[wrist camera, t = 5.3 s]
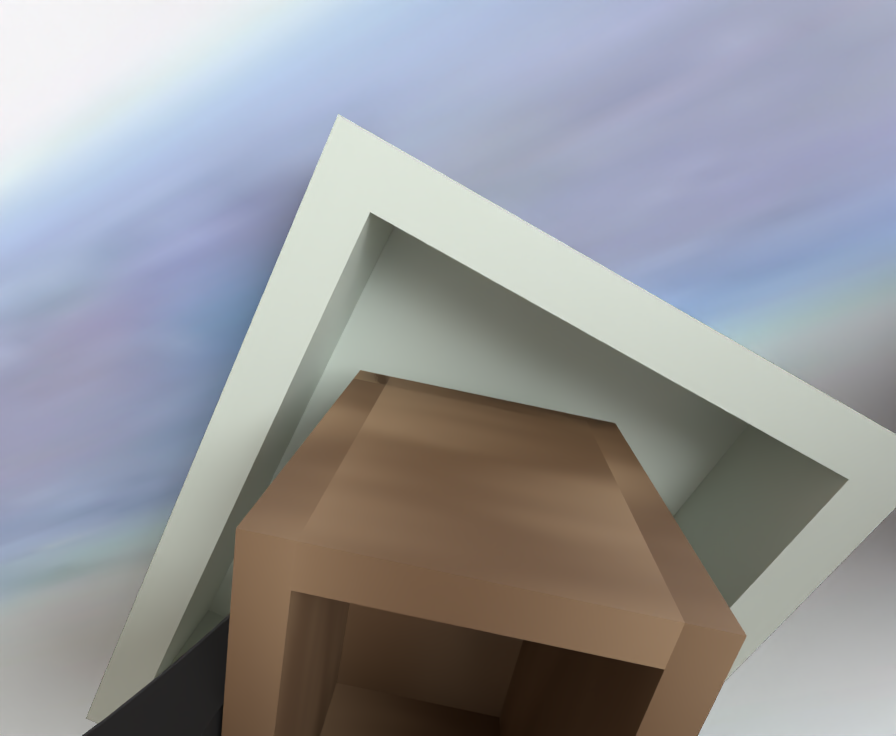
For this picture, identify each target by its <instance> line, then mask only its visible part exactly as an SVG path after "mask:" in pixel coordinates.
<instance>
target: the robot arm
mask: <svg viewBox="0 0 896 736" xmlns="http://www.w3.org/2000/svg"><path fill="white" fill-rule="evenodd" d="M229 620H230V614H229V615H227V616H226V617H225V618H224V619H223V620H222V621H221V622H220V623H219V624H218V625H217V626H216V627H214V628H213V629H212V630H211V631H210V632H209V633H208V634H206V635H205V636H204V637H203V638H202V639H201V640H200V641H198V642H197V643H196V644H195V645H194V646H193V647H192V648H190V649H189V650H188V651H187V652H186V653H185V654H183V655H182V656H181V657H180V658H179V659H178V660H177V661H175V662H174V663H173V664H172V665H171V666H170V667H168V668H167V669H166V670H165V671H164V672H162V673H161V674H160V675H159V676H157V677H156V678H155V679H154V680H152V681H151V682H150V683H149V684H147V685H146V686H145V687H144V688H142V689H141V690H140V691H139V692H137V693H136V694H135V695H134V696H132V697H131V698H130V699H129V700H127V701H126V702H125V703H124V704H122V705H121V706H120V707H119V708H117V709H116V710H115V711H114V712H112V713H111V714H110V715H109V716H107V717H106V718H105V719H103V720H102V721H101V722H99V723H98V724H97V725H96V726H94V727H93V728H92V729H90V730H89V731H88V732H86V733H85V734H84V735H82V736H221V734H222V720H223V706H224V691H225V677H226V663H227V649H228V634H229Z"/></svg>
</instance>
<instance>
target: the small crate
mask: <svg viewBox="0 0 896 736" xmlns="http://www.w3.org/2000/svg"><path fill="white" fill-rule="evenodd" d="M746 637H747V635H746V634H745V632H744V630H743V629H742V627H741V626H740V624H739V622H738V621H737V619H736V617H735V616H734V614H733V613H732V611H731V609H730V608H729V606H728V605H727V603H726V601H725V600H724V598H723V596H722V595H721V593H720V592H719V590H718V588H717V587H716V585H715V584H714V582H713V580H712V579H711V577H710V575H709V574H708V572H707V571H706V569H705V567H704V566H703V564H702V563H701V561H700V559H699V558H698V556H697V554H696V553H695V551H694V550H693V548H692V546H691V545H690V543H689V542H688V540H687V538H686V537H685V535H684V533H683V532H682V530H681V529H680V527H679V525H678V524H677V522H676V520H675V519H674V517H673V516H672V514H671V512H670V511H669V509H668V508H667V506H666V504H665V503H664V501H663V499H662V498H661V496H660V495H659V493H658V491H657V490H656V488H655V487H654V485H653V483H652V482H651V480H650V478H649V477H648V475H647V474H646V472H645V470H644V469H643V467H642V466H641V464H640V462H639V461H638V459H637V457H636V456H635V454H634V453H633V451H632V449H631V448H630V446H629V445H628V443H627V441H626V440H625V438H624V436H623V435H622V433H621V432H620V430H619V428H618V427H617V425H616V424H615V423H613V422H608V421H603V420H598V419H594V418H589V417H584V416H579V415H574V414H569V413H565V412H560V411H555V410H550V409H545V408H541V407H536V406H531V405H526V404H521V403H516V402H512V401H507V400H502V399H497V398H492V397H488V396H483V395H478V394H473V393H468V392H464V391H459V390H454V389H449V388H444V387H439V386H435V385H430V384H425V383H420V382H415V381H411V380H406V379H401V378H396V377H391V376H386V375H382V374H377V373H372V372H367V371H362V370H360V371H359V372H358V373H357V375H356V376H355V377H354V379H353V380H352V381H351V382H350V384H349V385H348V386H347V387H346V389H345V390H344V391H343V393H342V394H341V395H340V396H339V398H338V399H337V400H336V401H335V403H334V404H333V405H332V407H331V408H330V409H329V410H328V412H327V413H326V414H325V415H324V417H323V418H322V419H321V421H320V422H319V423H318V424H317V426H316V427H315V428H314V429H313V431H312V432H311V433H310V435H309V436H308V437H307V438H306V440H305V441H304V442H303V443H302V445H301V446H300V447H299V449H298V450H297V451H296V452H295V454H294V455H293V456H292V457H291V459H290V460H289V461H288V463H287V464H286V465H285V466H284V468H283V469H282V470H281V471H280V473H279V474H278V475H277V477H276V478H275V479H274V480H273V482H272V483H271V484H270V485H269V487H268V488H267V489H266V491H265V492H264V493H263V494H262V496H261V497H260V498H259V499H258V501H257V502H256V503H255V505H254V506H253V507H252V508H251V510H250V511H249V512H248V513H247V515H246V516H245V517H244V519H243V520H242V521H241V522H240V524H239V525H238V526H237V527H236V534H235V548H234V563H233V577H232V591H231V606H230V620H229V634H228V649H227V663H226V677H225V691H224V706H223V720H222V734H221V736H698V734H699V732H700V730H701V728H702V726H703V724H704V722H705V720H706V718H707V716H708V714H709V712H710V710H711V708H712V706H713V704H714V702H715V700H716V698H717V696H718V693H719V691H720V689H721V687H722V685H723V683H724V681H725V679H726V677H727V675H728V673H729V671H730V669H731V667H732V665H733V663H734V661H735V659H736V657H737V655H738V653H739V651H740V649H741V647H742V645H743V643H744V641H745V639H746Z"/></svg>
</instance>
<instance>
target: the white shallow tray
mask: <svg viewBox="0 0 896 736" xmlns="http://www.w3.org/2000/svg"><path fill="white" fill-rule="evenodd" d="M360 370H362V371H367V372H372V373H377V374H382V375H386V376H391V377H396V378H401V379H406V380H411V381H415V382H420V383H425V384H430V385H435V386H439V387H444V388H449V389H454V390H459V391H464V392H468V393H473V394H478V395H483V396H488V397H492V398H497V399H502V400H507V401H512V402H516V403H521V404H526V405H531V406H536V407H541V408H545V409H550V410H555V411H560V412H565V413H569V414H574V415H579V416H584V417H589V418H594V419H598V420H603V421H608V422H613V423H615V424H616V425H617V427H618V428H619V430H620V432H621V433H622V435H623V436H624V438H625V440H626V441H627V443H628V445H629V446H630V448H631V449H632V451H633V453H634V454H635V456H636V457H637V459H638V461H639V462H640V464H641V466H642V467H643V469H644V470H645V472H646V474H647V475H648V477H649V478H650V480H651V482H652V483H653V485H654V487H655V488H656V490H657V491H658V493H659V495H660V496H661V498H662V499H663V501H664V503H665V504H666V506H667V508H668V509H669V511H670V512H671V514H672V516H673V517H674V519H675V520H676V522H677V524H678V525H679V527H680V529H681V530H682V532H683V533H684V535H685V537H686V538H687V540H688V542H689V543H690V545H691V546H692V548H693V550H694V551H695V553H696V554H697V556H698V558H699V559H700V561H701V563H702V564H703V566H704V567H705V569H706V571H707V572H708V574H709V575H710V577H711V579H712V580H713V582H714V584H715V585H716V587H717V588H718V590H719V592H720V593H721V595H722V596H723V598H724V600H725V601H726V603H727V605H728V606H729V608H730V609H731V611H732V613H733V614H734V616H735V617H736V619H737V621H738V622H739V624H740V626H741V627H742V629H743V630H744V632H745V634H746V635H747V637H746V639H745V641H744V643H743V645H742V647H741V649H740V651H739V653H738V655H737V657H736V659H735V661H734V663H733V665H732V667H731V669H730V671H729V673H728V675H727V677H726V679H725V681H726V680H727V679H728V678H729V677H730V676H731V675H732V674H733V673H734V672H735V671H736V670H737V669H738V668H739V667H740V666H741V665H742V664H743V663H744V662H745V661H746V660H747V658H748V657H749V656H750V655H751V654H752V653H753V652H754V651H755V650H756V649H757V648H758V647H759V646H760V645H761V644H762V643H763V642H764V641H765V640H766V639H767V638H768V637H769V636H770V635H771V634H772V633H773V632H774V631H775V630H776V629H777V628H778V627H779V626H780V625H781V624H782V623H783V622H784V621H785V620H786V619H787V618H788V617H789V616H790V615H791V614H792V613H793V612H794V611H795V610H796V609H797V608H798V607H799V606H800V605H801V604H802V603H803V602H804V601H805V600H806V598H807V597H808V596H809V595H810V594H811V593H812V592H813V591H814V590H815V589H816V588H817V587H818V586H819V585H820V584H821V583H822V582H823V581H824V580H825V579H826V578H827V577H828V576H829V575H830V574H831V573H832V572H833V571H834V570H835V569H836V568H837V567H838V566H839V565H840V564H841V563H842V562H843V561H844V560H845V559H846V558H847V557H848V556H849V555H850V554H851V553H852V552H853V551H854V550H855V549H856V548H857V547H858V546H859V545H860V544H861V543H862V542H863V541H864V539H865V538H866V537H867V536H868V535H869V534H870V533H871V532H872V531H873V530H874V529H875V528H876V527H877V526H878V525H879V524H880V523H881V522H882V521H883V520H884V519H885V518H886V517H887V516H888V515H889V514H890V513H891V512H892V511H893V510H894V509H895V508H896V434H895V433H893V432H892V431H890V430H888V429H886V428H885V427H883V426H881V425H879V424H878V423H876V422H874V421H873V420H871V419H869V418H867V417H866V416H864V415H862V414H860V413H859V412H857V411H855V410H853V409H852V408H850V407H848V406H846V405H845V404H843V403H841V402H839V401H838V400H836V399H834V398H832V397H831V396H829V395H827V394H825V393H824V392H822V391H820V390H818V389H817V388H815V387H813V386H811V385H810V384H808V383H806V382H805V381H803V380H801V379H799V378H798V377H796V376H794V375H792V374H791V373H789V372H787V371H785V370H784V369H782V368H780V367H778V366H777V365H775V364H773V363H771V362H770V361H768V360H766V359H764V358H763V357H761V356H759V355H757V354H756V353H754V352H752V351H750V350H749V349H747V348H745V347H743V346H742V345H740V344H738V343H736V342H735V341H733V340H731V339H730V338H728V337H726V336H724V335H723V334H721V333H719V332H717V331H716V330H714V329H712V328H710V327H709V326H707V325H705V324H703V323H702V322H700V321H698V320H696V319H695V318H693V317H691V316H689V315H688V314H686V313H684V312H682V311H681V310H679V309H677V308H675V307H674V306H672V305H670V304H668V303H667V302H665V301H663V300H662V299H660V298H658V297H656V296H655V295H653V294H651V293H649V292H648V291H646V290H644V289H642V288H641V287H639V286H637V285H635V284H634V283H632V282H630V281H628V280H627V279H625V278H623V277H621V276H620V275H618V274H616V273H614V272H613V271H611V270H609V269H607V268H606V267H604V266H602V265H600V264H599V263H597V262H595V261H594V260H592V259H590V258H588V257H587V256H585V255H583V254H581V253H580V252H578V251H576V250H574V249H573V248H571V247H569V246H567V245H566V244H564V243H562V242H560V241H559V240H557V239H555V238H553V237H552V236H550V235H548V234H546V233H545V232H543V231H541V230H539V229H538V228H536V227H534V226H532V225H531V224H529V223H527V222H525V221H524V220H522V219H520V218H519V217H517V216H515V215H513V214H512V213H510V212H508V211H506V210H505V209H503V208H501V207H499V206H498V205H496V204H494V203H492V202H491V201H489V200H487V199H485V198H484V197H482V196H480V195H478V194H477V193H475V192H473V191H471V190H470V189H468V188H466V187H464V186H463V185H461V184H459V183H457V182H456V181H454V180H452V179H451V178H449V177H447V176H445V175H444V174H442V173H440V172H438V171H437V170H435V169H433V168H431V167H430V166H428V165H426V164H424V163H423V162H421V161H419V160H417V159H416V158H414V157H412V156H410V155H409V154H407V153H405V152H403V151H402V150H400V149H398V148H396V147H395V146H393V145H391V144H389V143H388V142H386V141H384V140H383V139H381V138H379V137H377V136H376V135H374V134H372V133H370V132H369V131H367V130H365V129H363V128H362V127H360V126H358V125H356V124H355V123H353V122H351V121H349V120H348V119H346V118H344V117H342V116H341V115H339V114H338V116H337V118H336V121H335V123H334V125H333V128H332V130H331V133H330V135H329V137H328V140H327V142H326V145H325V147H324V149H323V152H322V154H321V157H320V159H319V161H318V164H317V166H316V169H315V171H314V173H313V176H312V178H311V180H310V183H309V185H308V188H307V190H306V192H305V195H304V197H303V200H302V202H301V204H300V207H299V209H298V212H297V214H296V216H295V219H294V221H293V224H292V226H291V228H290V231H289V233H288V236H287V238H286V240H285V243H284V245H283V248H282V250H281V252H280V255H279V257H278V260H277V262H276V264H275V267H274V269H273V271H272V274H271V276H270V279H269V281H268V283H267V286H266V288H265V291H264V293H263V295H262V298H261V300H260V303H259V305H258V307H257V310H256V312H255V315H254V317H253V319H252V322H251V324H250V327H249V329H248V331H247V334H246V336H245V339H244V341H243V343H242V346H241V348H240V351H239V353H238V355H237V358H236V360H235V363H234V365H233V367H232V370H231V372H230V374H229V377H228V379H227V382H226V384H225V386H224V389H223V391H222V394H221V396H220V398H219V401H218V403H217V406H216V408H215V410H214V413H213V415H212V418H211V420H210V422H209V425H208V427H207V430H206V432H205V434H204V437H203V439H202V442H201V444H200V446H199V449H198V451H197V454H196V456H195V458H194V461H193V463H192V465H191V468H190V470H189V473H188V475H187V477H186V480H185V482H184V485H183V487H182V489H181V492H180V494H179V497H178V499H177V501H176V504H175V506H174V509H173V511H172V513H171V516H170V518H169V521H168V523H167V525H166V528H165V530H164V533H163V535H162V537H161V540H160V542H159V545H158V547H157V549H156V552H155V554H154V556H153V559H152V561H151V564H150V566H149V568H148V571H147V573H146V576H145V578H144V580H143V583H142V585H141V588H140V590H139V592H138V595H137V597H136V600H135V602H134V604H133V607H132V609H131V612H130V614H129V616H128V619H127V621H126V624H125V626H124V628H123V631H122V633H121V636H120V638H119V640H118V643H117V645H116V647H115V650H114V652H113V655H112V657H111V659H110V662H109V664H108V667H107V669H106V671H105V674H104V676H103V679H102V681H101V683H100V686H99V688H98V691H97V693H96V695H95V698H94V700H93V703H92V705H91V707H90V710H89V712H88V715H87V717H86V718H87V719H89V720H91V721H93V722H96V723H99V722H101V721H102V720H103V719H105V718H106V717H107V716H109V715H110V714H111V713H112V712H114V711H115V710H116V709H117V708H119V707H120V706H121V705H122V704H124V703H125V702H126V701H127V700H129V699H130V698H131V697H132V696H134V695H135V694H136V693H137V692H139V691H140V690H141V689H142V688H144V687H145V686H146V685H147V684H149V683H150V682H151V681H152V680H154V679H155V678H156V677H157V676H159V675H160V674H161V673H162V672H164V671H165V670H166V669H167V668H168V667H170V666H171V665H172V664H173V663H174V662H175V661H177V660H178V659H179V658H180V657H181V656H182V655H183V654H185V653H186V652H187V651H188V650H189V649H190V648H192V647H193V646H194V645H195V644H196V643H197V642H198V641H200V640H201V639H202V638H203V637H204V636H205V635H206V634H208V633H209V632H210V631H211V630H212V629H213V628H214V627H216V626H217V625H218V624H219V623H220V622H221V621H222V620H223V619H224V618H225V617H226V616H227V615H229V614H230V606H231V591H232V577H233V563H234V548H235V534H236V527H237V526H238V525H239V524H240V522H241V521H242V520H243V519H244V517H245V516H246V515H247V513H248V512H249V511H250V510H251V508H252V507H253V506H254V505H255V503H256V502H257V501H258V499H259V498H260V497H261V496H262V494H263V493H264V492H265V491H266V489H267V488H268V487H269V485H270V484H271V483H272V482H273V480H274V479H275V478H276V477H277V475H278V474H279V473H280V471H281V470H282V469H283V468H284V466H285V465H286V464H287V463H288V461H289V460H290V459H291V457H292V456H293V455H294V454H295V452H296V451H297V450H298V449H299V447H300V446H301V445H302V443H303V442H304V441H305V440H306V438H307V437H308V436H309V435H310V433H311V432H312V431H313V429H314V428H315V427H316V426H317V424H318V423H319V422H320V421H321V419H322V418H323V417H324V415H325V414H326V413H327V412H328V410H329V409H330V408H331V407H332V405H333V404H334V403H335V401H336V400H337V399H338V398H339V396H340V395H341V394H342V393H343V391H344V390H345V389H346V387H347V386H348V385H349V384H350V382H351V381H352V380H353V379H354V377H355V376H356V375H357V373H358V372H359V371H360ZM725 681H724V682H725Z"/></svg>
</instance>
